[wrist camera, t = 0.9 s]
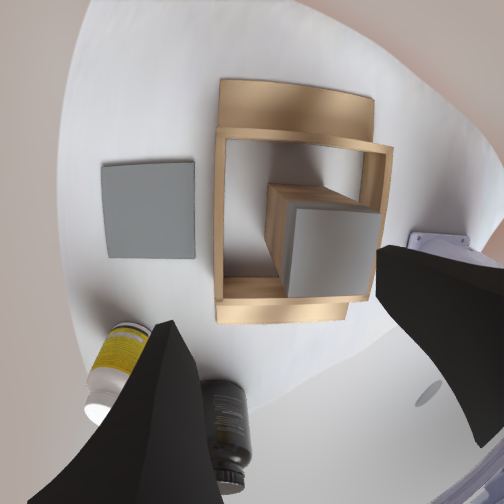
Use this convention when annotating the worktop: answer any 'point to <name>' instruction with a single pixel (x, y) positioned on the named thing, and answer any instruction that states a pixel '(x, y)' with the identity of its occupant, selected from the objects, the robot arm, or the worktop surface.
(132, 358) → the supplement bottle
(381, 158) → the wooden tray
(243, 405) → the supplement bottle
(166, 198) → the pad
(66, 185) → the worktop surface
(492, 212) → the worktop surface
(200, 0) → the worktop surface
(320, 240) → the block
